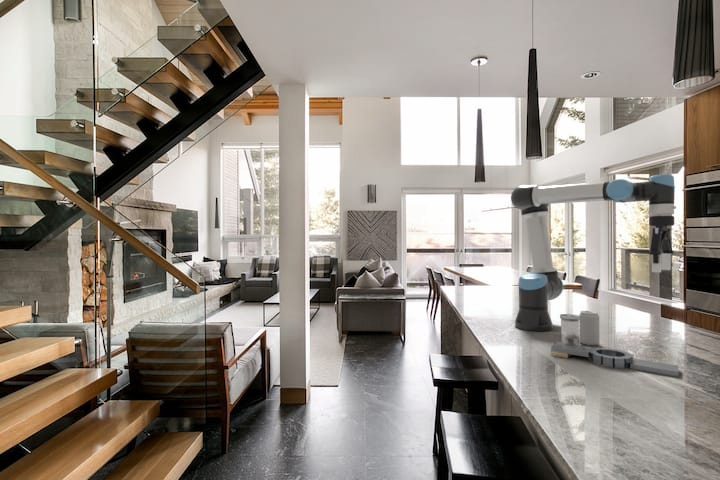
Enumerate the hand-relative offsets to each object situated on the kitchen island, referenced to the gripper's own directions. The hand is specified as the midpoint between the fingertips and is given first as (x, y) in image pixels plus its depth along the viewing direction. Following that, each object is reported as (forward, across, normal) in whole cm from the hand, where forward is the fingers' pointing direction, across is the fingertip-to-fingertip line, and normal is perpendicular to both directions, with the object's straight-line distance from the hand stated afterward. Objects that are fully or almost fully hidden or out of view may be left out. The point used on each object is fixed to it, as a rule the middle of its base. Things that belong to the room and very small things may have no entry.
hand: (661, 271), depth 145 cm
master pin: (+27, -38, +18) cm, 50 cm away
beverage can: (+27, -26, +16) cm, 40 cm away
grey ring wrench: (+26, -44, +3) cm, 51 cm away
